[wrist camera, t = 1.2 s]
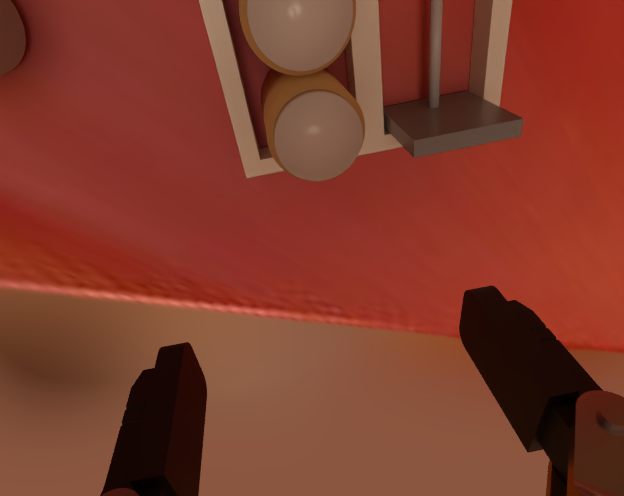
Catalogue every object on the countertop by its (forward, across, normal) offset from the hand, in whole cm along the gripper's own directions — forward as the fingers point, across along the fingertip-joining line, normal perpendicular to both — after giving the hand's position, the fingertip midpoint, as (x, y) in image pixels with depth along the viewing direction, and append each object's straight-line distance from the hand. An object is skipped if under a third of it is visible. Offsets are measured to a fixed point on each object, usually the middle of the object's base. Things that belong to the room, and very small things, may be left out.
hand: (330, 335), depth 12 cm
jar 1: (+24, -2, -7) cm, 25 cm away
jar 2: (+24, -2, -1) cm, 24 cm away
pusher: (+24, -12, -3) cm, 27 cm away
